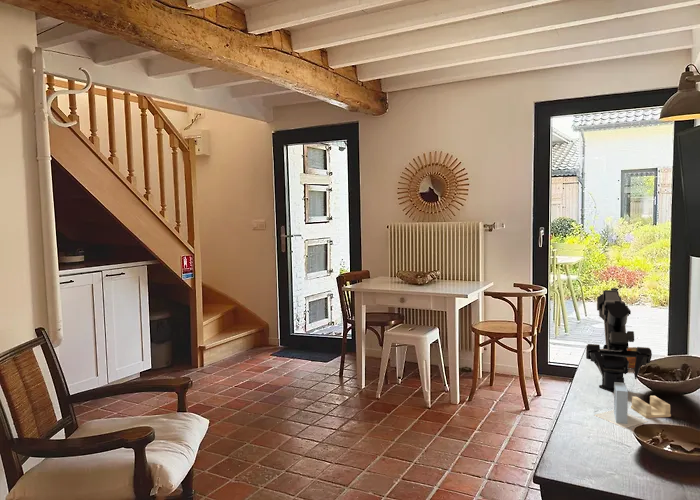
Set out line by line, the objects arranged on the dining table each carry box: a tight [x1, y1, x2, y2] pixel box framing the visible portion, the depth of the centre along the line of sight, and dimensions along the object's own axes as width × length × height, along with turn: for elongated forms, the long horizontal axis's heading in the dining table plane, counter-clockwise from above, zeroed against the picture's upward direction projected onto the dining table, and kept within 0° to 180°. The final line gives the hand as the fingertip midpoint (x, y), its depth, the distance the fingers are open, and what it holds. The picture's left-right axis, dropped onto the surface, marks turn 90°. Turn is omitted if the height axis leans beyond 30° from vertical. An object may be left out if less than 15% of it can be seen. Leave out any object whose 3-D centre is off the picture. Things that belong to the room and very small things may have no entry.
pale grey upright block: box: [613, 382, 629, 424], centre depth 166 cm, size 8×3×10 cm, turn 159°
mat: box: [594, 409, 649, 429], centre depth 166 cm, size 11×10×1 cm
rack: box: [630, 395, 672, 419], centre depth 170 cm, size 8×8×4 cm
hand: (619, 377), depth 169 cm, fingers open, 9 cm apart
